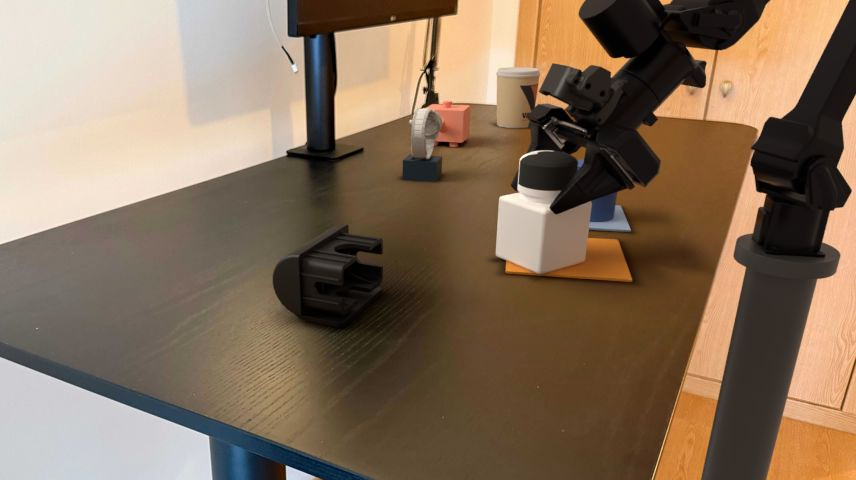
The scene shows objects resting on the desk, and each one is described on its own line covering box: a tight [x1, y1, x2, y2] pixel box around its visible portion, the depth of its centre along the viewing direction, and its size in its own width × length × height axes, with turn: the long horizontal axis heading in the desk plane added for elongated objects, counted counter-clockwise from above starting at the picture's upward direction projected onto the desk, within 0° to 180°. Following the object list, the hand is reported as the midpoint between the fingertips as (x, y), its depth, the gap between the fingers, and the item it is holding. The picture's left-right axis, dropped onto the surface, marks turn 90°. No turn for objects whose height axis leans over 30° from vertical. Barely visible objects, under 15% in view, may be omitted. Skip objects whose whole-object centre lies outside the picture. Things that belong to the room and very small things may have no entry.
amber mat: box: [505, 237, 633, 283], centre depth 81 cm, size 13×13×1 cm
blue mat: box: [589, 204, 632, 233], centre depth 95 cm, size 11×11×1 cm
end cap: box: [272, 223, 384, 329], centre depth 69 cm, size 10×7×7 cm
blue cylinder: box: [577, 158, 618, 222], centre depth 94 cm, size 6×6×7 cm
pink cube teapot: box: [426, 100, 471, 148], centre depth 139 cm, size 8×12×8 cm, turn 161°
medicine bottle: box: [495, 150, 592, 275], centre depth 77 cm, size 7×7×12 cm
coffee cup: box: [495, 66, 541, 129], centre depth 156 cm, size 9×9×12 cm
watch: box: [402, 107, 443, 182], centre depth 114 cm, size 6×8×11 cm
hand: (531, 199), depth 77 cm, fingers open, 9 cm apart
